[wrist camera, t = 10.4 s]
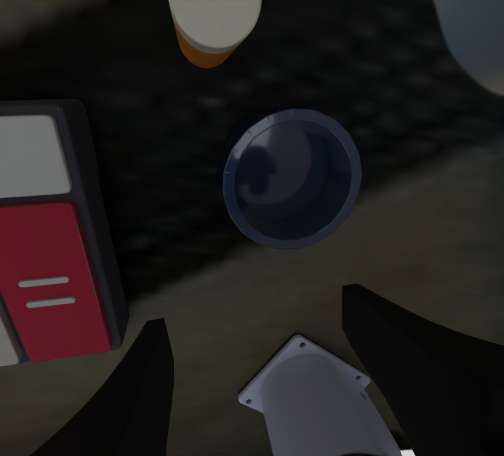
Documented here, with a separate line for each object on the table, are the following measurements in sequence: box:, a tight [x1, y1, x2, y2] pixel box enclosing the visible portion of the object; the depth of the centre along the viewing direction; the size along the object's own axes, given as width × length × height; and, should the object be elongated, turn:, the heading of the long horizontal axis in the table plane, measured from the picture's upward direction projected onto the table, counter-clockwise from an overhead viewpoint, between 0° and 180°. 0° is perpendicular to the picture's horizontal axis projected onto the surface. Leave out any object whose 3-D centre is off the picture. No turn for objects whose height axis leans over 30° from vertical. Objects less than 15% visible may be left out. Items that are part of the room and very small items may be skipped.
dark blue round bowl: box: [218, 106, 362, 249], centre depth 20 cm, size 8×8×4 cm
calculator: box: [0, 99, 129, 366], centre depth 19 cm, size 11×4×15 cm
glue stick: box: [169, 0, 262, 68], centre depth 14 cm, size 3×3×8 cm
